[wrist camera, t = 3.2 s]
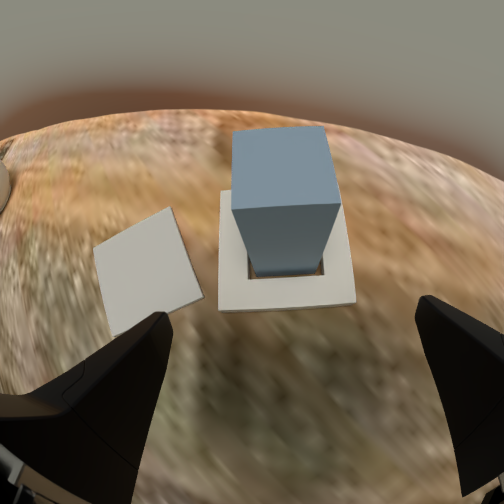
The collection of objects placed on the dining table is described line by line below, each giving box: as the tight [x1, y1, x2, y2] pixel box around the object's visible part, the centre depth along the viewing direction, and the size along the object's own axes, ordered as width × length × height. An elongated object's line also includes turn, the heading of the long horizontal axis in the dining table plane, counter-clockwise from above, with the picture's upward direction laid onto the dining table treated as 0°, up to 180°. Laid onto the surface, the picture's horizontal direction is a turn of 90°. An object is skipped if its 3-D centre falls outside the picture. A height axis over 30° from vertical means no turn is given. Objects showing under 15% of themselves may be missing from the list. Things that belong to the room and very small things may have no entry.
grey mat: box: [93, 206, 204, 337], centre depth 25 cm, size 10×10×1 cm
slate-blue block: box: [231, 126, 341, 277], centre depth 18 cm, size 5×5×12 cm
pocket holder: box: [218, 186, 356, 313], centre depth 23 cm, size 11×11×2 cm
